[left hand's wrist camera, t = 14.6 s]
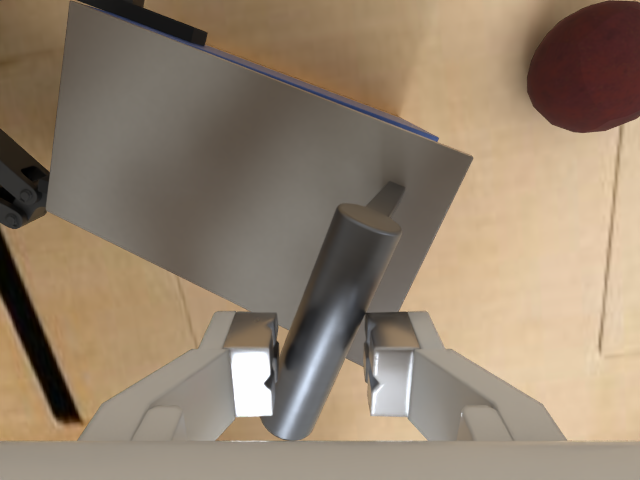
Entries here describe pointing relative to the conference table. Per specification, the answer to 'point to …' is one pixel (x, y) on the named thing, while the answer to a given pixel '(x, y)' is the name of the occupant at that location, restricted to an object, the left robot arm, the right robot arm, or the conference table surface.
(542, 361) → the conference table surface
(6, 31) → the conference table surface
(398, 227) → the lid
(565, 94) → the dark red ball
